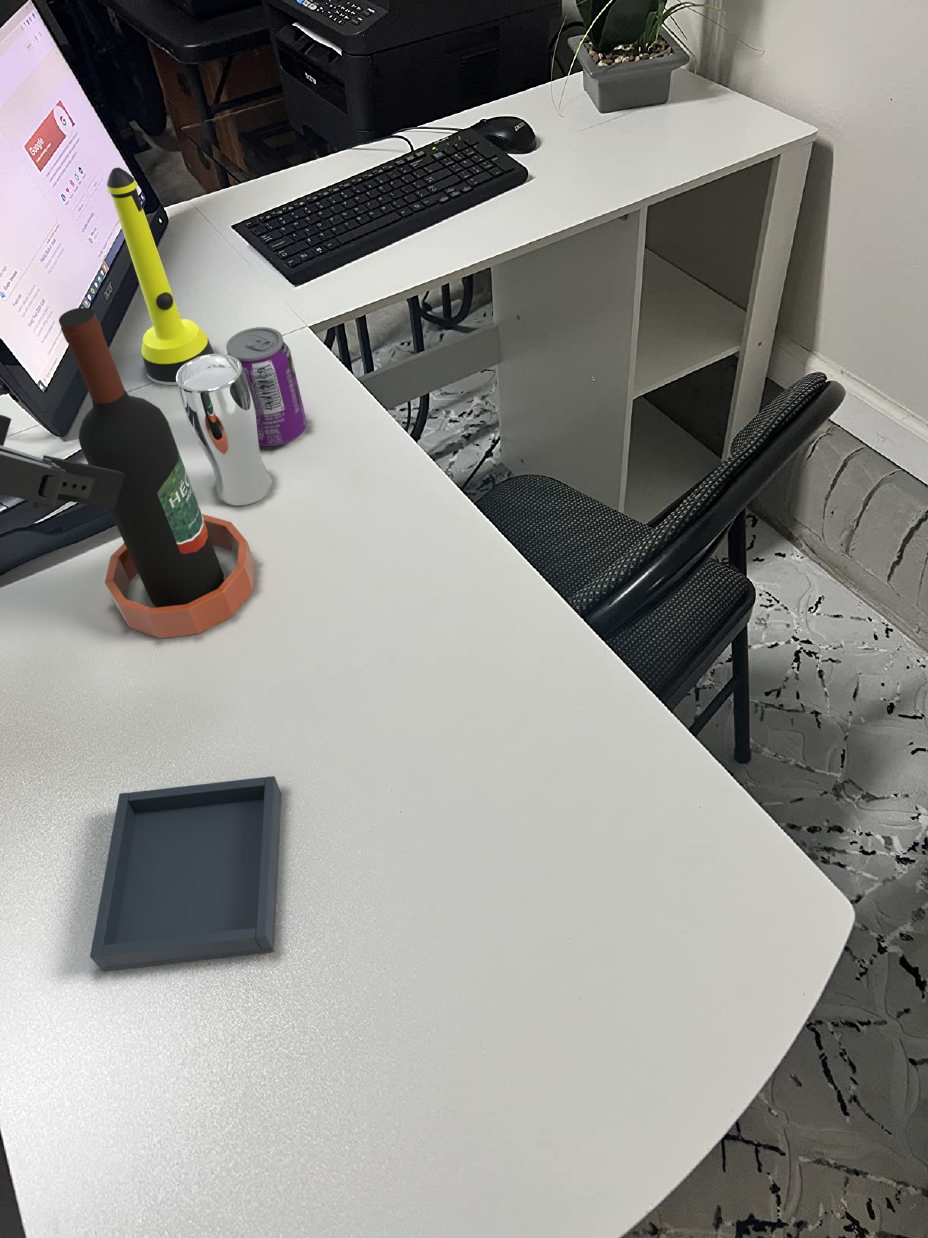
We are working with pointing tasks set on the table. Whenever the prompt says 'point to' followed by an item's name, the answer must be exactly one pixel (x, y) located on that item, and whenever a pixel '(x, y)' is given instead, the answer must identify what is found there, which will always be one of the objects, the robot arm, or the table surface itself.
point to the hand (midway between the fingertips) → (58, 460)
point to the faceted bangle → (197, 612)
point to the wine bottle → (142, 475)
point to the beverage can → (270, 384)
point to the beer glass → (225, 426)
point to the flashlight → (155, 290)
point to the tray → (190, 875)
